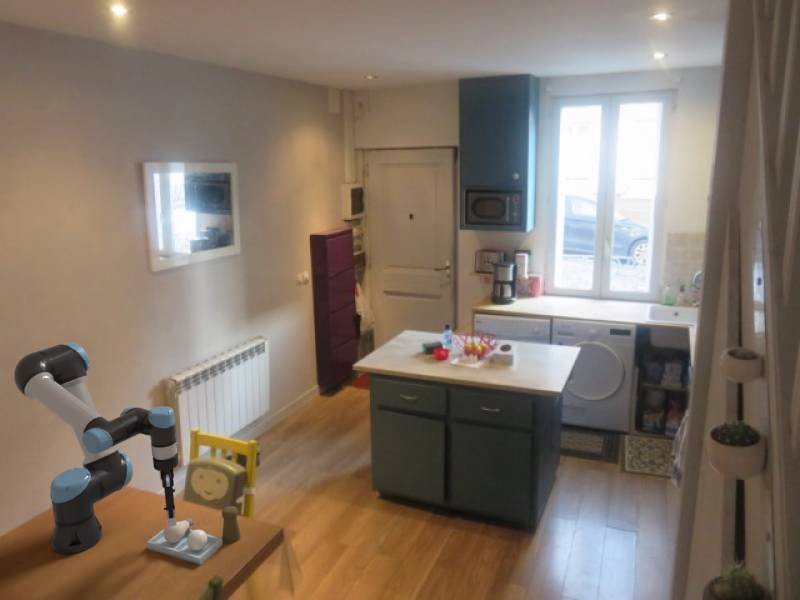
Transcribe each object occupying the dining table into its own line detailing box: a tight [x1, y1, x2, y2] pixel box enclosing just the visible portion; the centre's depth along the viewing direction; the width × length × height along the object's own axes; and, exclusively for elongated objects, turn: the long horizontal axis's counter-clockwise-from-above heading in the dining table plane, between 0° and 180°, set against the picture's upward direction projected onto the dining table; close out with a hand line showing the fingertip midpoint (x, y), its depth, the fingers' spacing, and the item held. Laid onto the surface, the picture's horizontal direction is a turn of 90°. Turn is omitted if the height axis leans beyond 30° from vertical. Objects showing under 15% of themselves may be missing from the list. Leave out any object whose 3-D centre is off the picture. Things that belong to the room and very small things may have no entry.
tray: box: [146, 528, 224, 566], centre depth 203 cm, size 21×11×2 cm, turn 68°
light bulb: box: [163, 517, 195, 543], centre depth 205 cm, size 7×7×11 cm
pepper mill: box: [221, 505, 242, 544], centre depth 207 cm, size 6×6×11 cm
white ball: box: [187, 529, 207, 551], centre depth 200 cm, size 6×6×6 cm
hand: (171, 518), depth 202 cm, fingers open, 7 cm apart
